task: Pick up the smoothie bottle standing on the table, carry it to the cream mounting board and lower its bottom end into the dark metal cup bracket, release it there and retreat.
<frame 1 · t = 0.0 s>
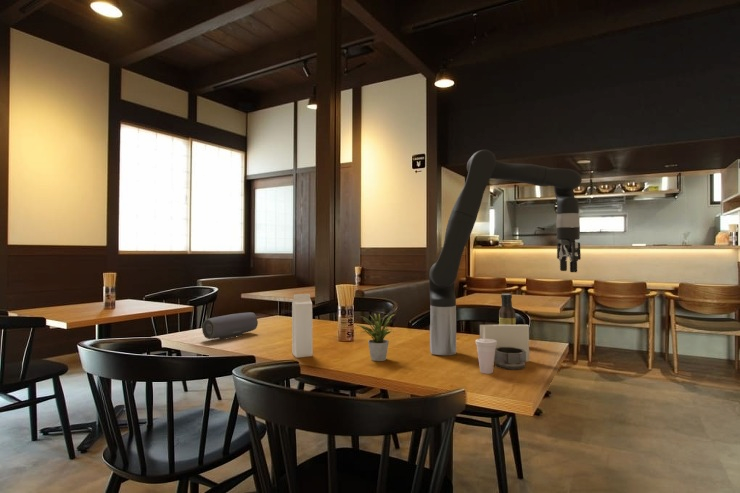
hand: (568, 271, 152), 29 cm above the table, tool pointing down, fingers open, 8 cm apart
smoothie: (486, 372, 129), on the table
mounting board: (504, 360, 142), on the table
sauce bottle: (507, 344, 166), on the table
milk: (302, 355, 152), on the table
cup bracket: (509, 365, 136), on the table
bluetooth speaker: (231, 337, 184), on the table
house plant: (379, 358, 146), on the table
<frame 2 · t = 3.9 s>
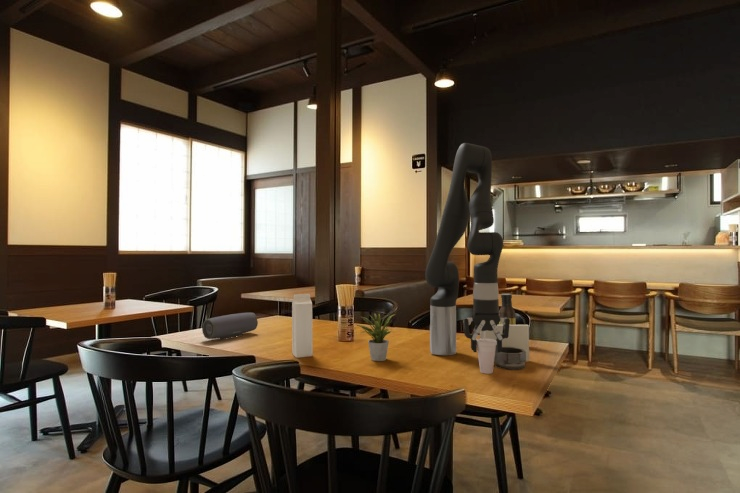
hand: (486, 351, 129), 6 cm above the table, tool pointing down, fingers closed on smoothie, 6 cm apart
smoothie: (486, 372, 129), on the table, touching gripper
everything else where it was.
when the fingers open (10 cm above the table, at t = 9.1 s): smoothie drops 1 cm, resting on cup bracket.
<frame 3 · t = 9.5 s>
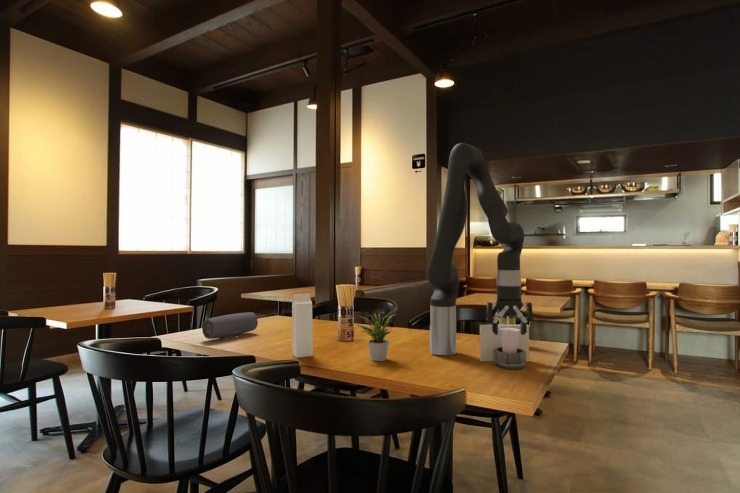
hand: (509, 334, 136), 10 cm above the table, tool pointing down, fingers open, 8 cm apart
smoothie: (509, 360, 136), point 2 cm above the table, touching cup bracket
everything else where it was.
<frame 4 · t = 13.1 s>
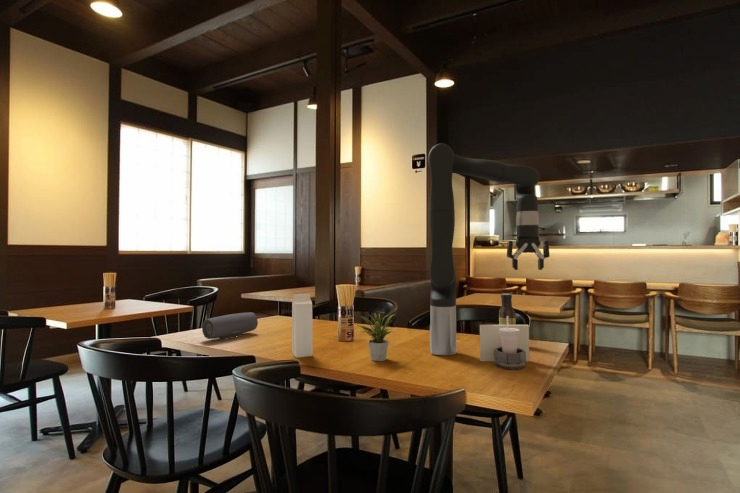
hand: (528, 269, 150), 30 cm above the table, tool pointing down, fingers open, 8 cm apart
nothing on the table moved.
at the end: smoothie 0.0 cm off-centre on the cup bracket, point 1.8 cm above the cup bracket's base; smoothie tilted 0°; the gripper is holding nothing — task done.
